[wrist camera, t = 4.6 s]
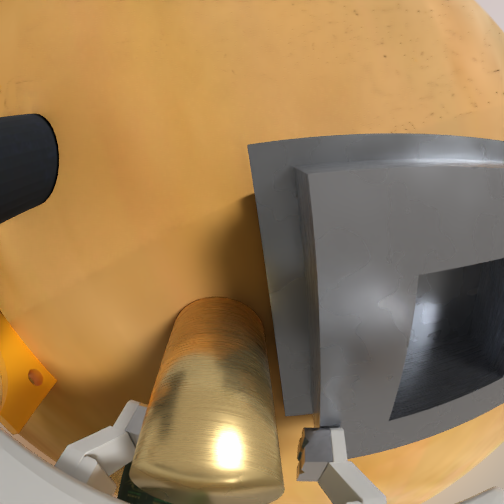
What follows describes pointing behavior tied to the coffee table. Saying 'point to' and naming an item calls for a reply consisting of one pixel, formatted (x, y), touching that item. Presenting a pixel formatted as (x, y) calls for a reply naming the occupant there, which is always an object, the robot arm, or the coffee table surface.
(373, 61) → the coffee table surface
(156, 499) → the coffee jar
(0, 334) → the pipe clamp
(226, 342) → the tan cylinder
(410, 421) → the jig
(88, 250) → the coffee table surface
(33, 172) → the pipe connector
